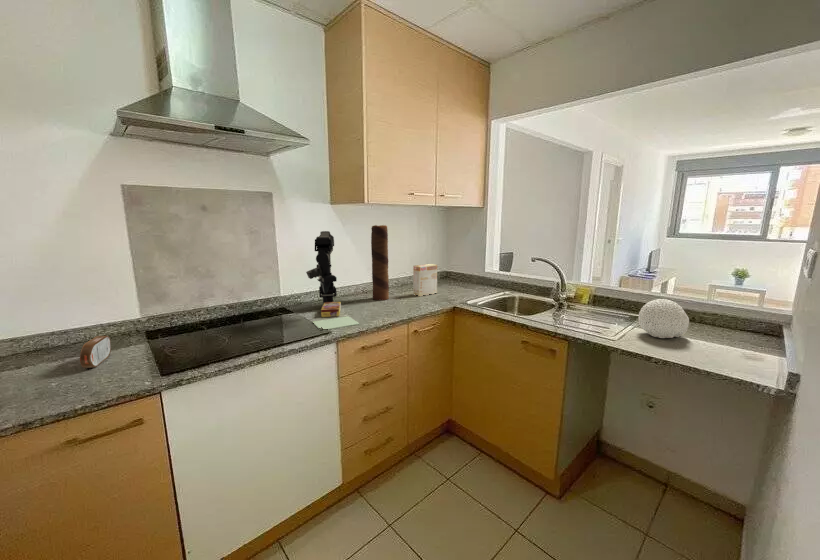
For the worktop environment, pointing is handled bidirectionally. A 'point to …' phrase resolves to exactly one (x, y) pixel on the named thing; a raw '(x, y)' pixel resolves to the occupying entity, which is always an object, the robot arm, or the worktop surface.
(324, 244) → the robot arm
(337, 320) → the mat
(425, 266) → the coffeecake box
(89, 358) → the tin
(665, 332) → the white rounded lump
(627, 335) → the worktop surface
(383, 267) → the wafer roll
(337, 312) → the candy box
